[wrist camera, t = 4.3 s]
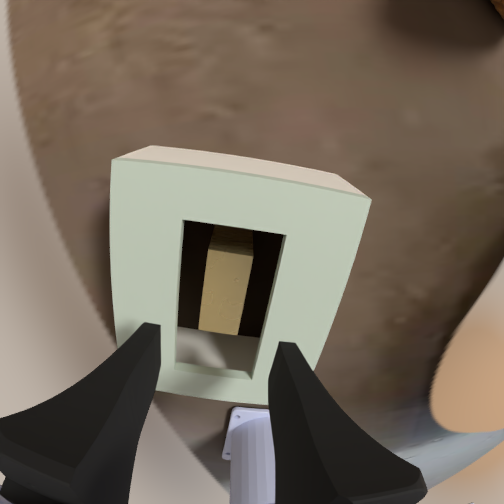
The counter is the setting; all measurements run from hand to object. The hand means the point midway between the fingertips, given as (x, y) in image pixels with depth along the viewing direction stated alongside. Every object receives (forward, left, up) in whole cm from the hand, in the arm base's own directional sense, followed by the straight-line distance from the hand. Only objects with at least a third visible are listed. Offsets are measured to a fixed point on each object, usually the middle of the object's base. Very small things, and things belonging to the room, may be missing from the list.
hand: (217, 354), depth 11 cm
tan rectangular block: (0, 0, -8) cm, 8 cm away
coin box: (0, 0, -8) cm, 8 cm away
